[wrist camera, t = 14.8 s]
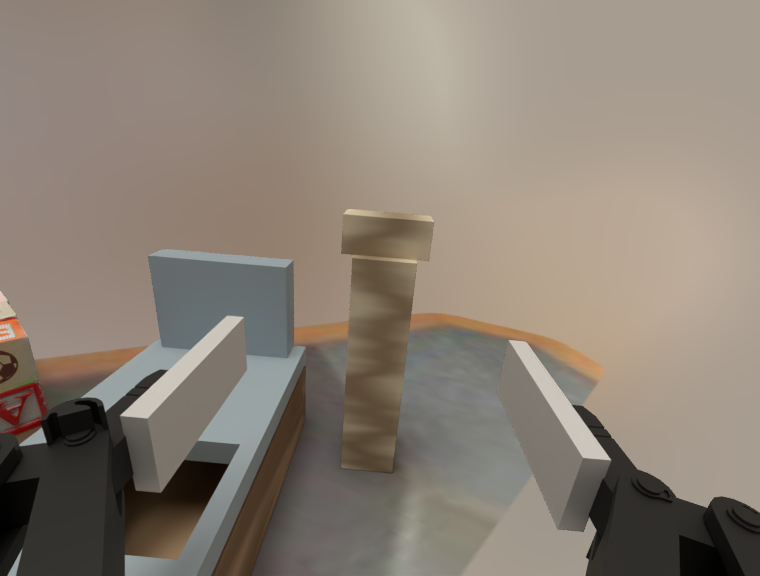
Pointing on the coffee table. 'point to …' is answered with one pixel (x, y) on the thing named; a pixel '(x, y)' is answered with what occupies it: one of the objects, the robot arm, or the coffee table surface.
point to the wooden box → (194, 490)
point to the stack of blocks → (18, 379)
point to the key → (378, 329)
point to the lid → (247, 400)
